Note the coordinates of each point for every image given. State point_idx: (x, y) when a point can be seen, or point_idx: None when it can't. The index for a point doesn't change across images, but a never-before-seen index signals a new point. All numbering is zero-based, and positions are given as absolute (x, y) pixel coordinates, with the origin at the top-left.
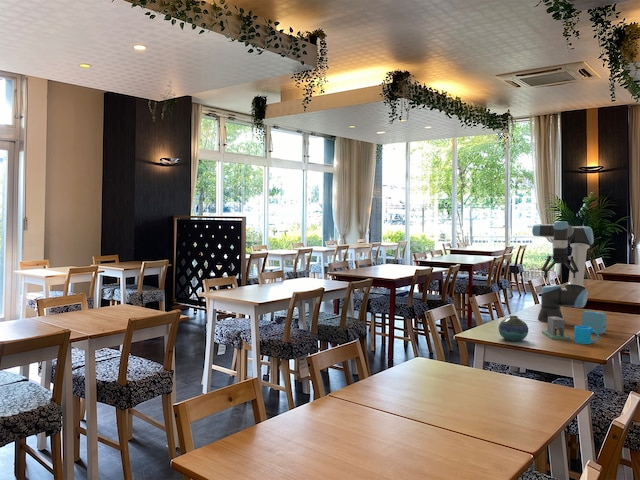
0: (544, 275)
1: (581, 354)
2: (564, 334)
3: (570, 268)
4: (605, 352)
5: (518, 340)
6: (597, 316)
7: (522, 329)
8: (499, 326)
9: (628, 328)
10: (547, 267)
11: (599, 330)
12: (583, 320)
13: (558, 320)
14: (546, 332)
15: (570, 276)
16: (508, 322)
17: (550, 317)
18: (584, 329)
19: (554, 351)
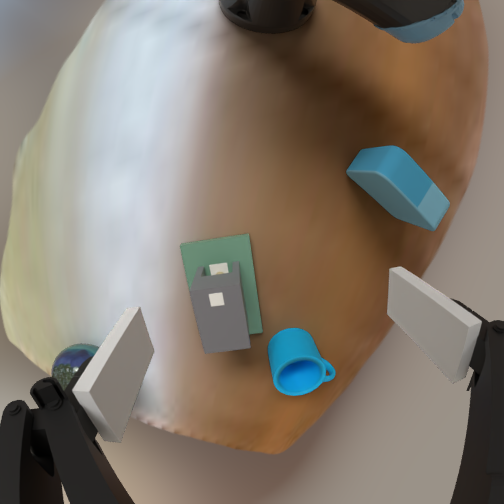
0: (76, 374)
1: (248, 443)
2: (253, 293)
3: (470, 433)
4: (307, 420)
5: None
6: (416, 216)
7: None
8: None
9: (475, 110)
10: (59, 463)
11: (393, 213)
12: (366, 177)
13: (225, 349)
14: (193, 277)
15: (434, 311)
16: None
17: (198, 311)
18: (295, 394)
19: (195, 437)
